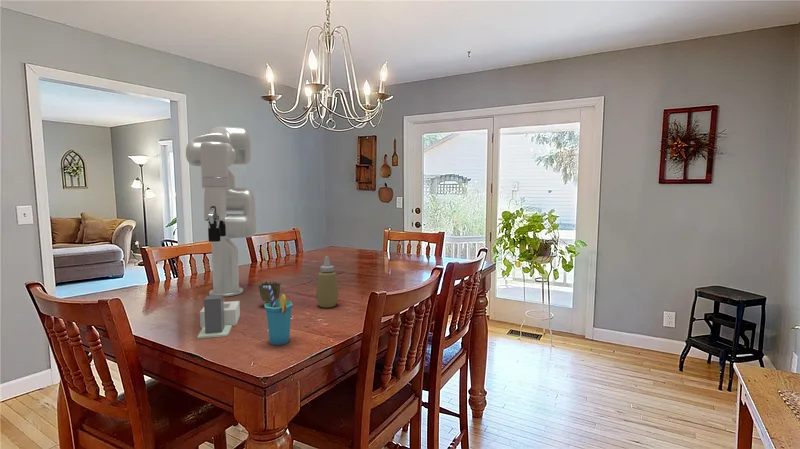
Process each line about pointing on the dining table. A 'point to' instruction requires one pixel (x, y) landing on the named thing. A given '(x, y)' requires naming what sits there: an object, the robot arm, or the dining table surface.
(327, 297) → the squeeze bottle
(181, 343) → the dining table surface
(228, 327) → the mat
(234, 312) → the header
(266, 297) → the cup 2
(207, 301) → the plug
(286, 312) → the cup
